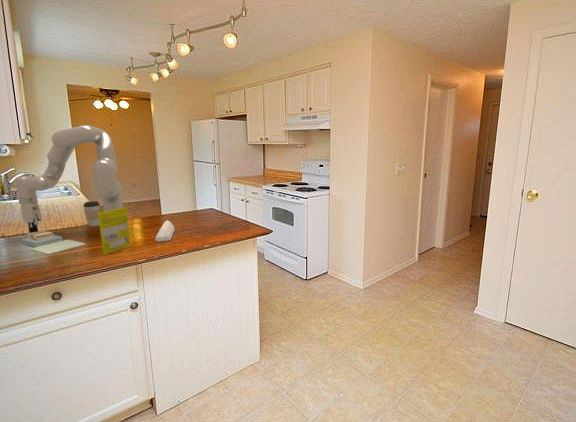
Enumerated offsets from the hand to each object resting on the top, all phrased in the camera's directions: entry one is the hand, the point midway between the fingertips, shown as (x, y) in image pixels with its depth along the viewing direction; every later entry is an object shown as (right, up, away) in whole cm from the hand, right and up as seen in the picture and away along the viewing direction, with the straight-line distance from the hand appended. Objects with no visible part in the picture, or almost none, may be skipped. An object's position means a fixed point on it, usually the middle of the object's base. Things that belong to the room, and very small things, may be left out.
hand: (34, 234), depth 162 cm
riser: (+7, -4, -3) cm, 9 cm away
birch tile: (+6, -2, -3) cm, 7 cm away
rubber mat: (+20, -5, -9) cm, 23 cm away
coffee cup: (+10, +3, +34) cm, 36 cm away
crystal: (+66, -2, +10) cm, 67 cm away
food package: (+52, -7, -14) cm, 55 cm away
